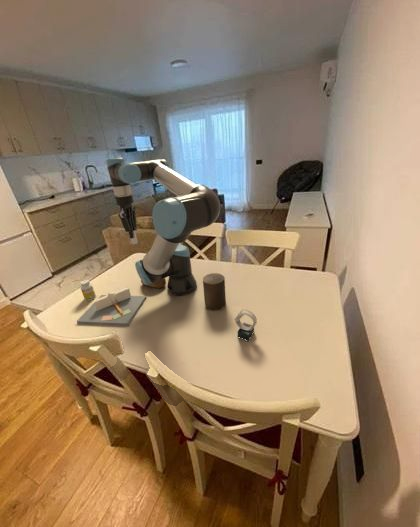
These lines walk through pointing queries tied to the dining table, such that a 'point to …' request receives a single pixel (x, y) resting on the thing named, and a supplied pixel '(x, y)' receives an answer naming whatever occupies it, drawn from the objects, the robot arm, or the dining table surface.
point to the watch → (245, 324)
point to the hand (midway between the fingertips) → (134, 243)
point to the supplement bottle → (87, 290)
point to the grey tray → (113, 312)
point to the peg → (112, 299)
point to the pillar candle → (214, 291)
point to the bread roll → (157, 283)
